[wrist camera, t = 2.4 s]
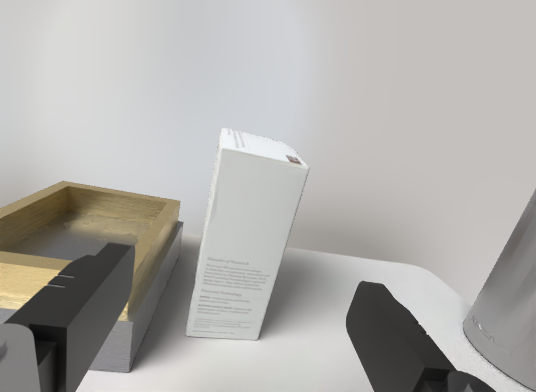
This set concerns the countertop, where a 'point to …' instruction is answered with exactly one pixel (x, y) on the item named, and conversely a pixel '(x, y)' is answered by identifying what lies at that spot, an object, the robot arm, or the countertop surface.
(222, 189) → the skincare box
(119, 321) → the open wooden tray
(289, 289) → the countertop surface
